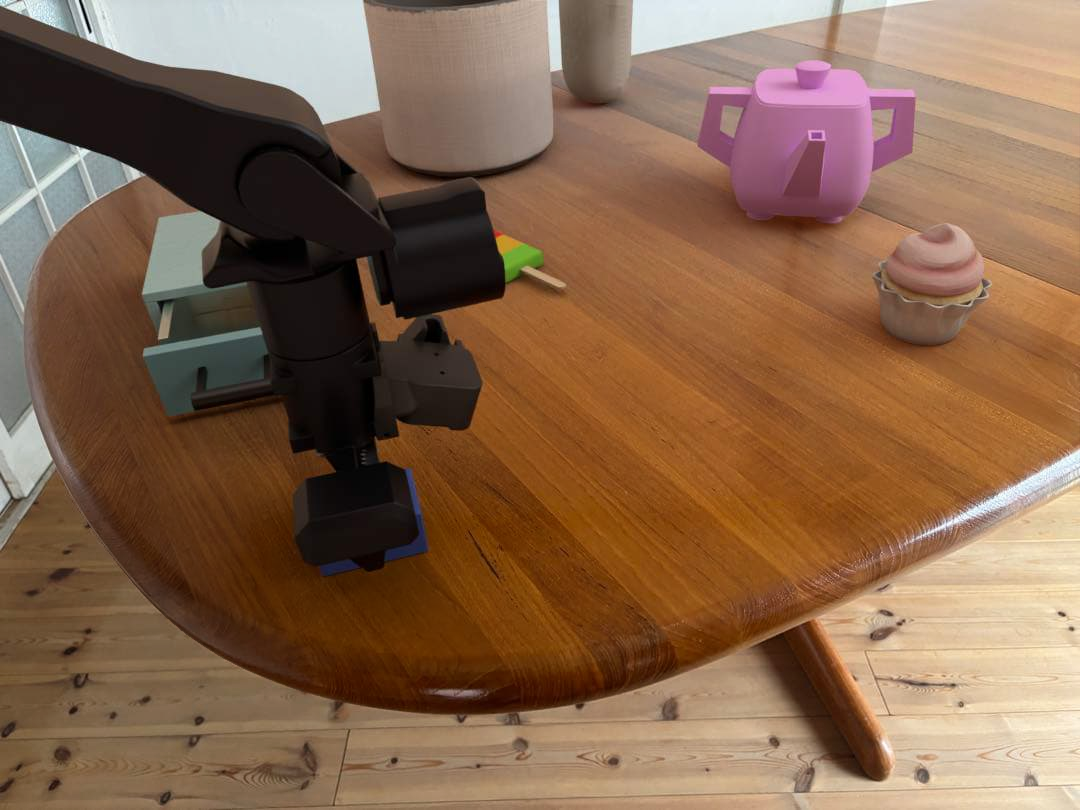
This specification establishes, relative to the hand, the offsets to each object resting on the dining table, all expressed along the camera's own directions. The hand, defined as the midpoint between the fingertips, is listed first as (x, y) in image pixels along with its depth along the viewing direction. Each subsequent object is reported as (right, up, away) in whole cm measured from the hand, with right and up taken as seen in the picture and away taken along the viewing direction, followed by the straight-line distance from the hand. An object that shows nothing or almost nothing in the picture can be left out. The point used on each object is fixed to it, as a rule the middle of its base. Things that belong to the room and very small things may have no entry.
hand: (369, 528), depth 55 cm
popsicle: (+9, +22, +29) cm, 38 cm away
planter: (+2, +43, +57) cm, 71 cm away
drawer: (-14, +11, +16) cm, 24 cm away
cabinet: (-17, +17, +25) cm, 35 cm away
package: (0, -1, +1) cm, 1 cm away
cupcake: (+45, +15, +17) cm, 50 cm away
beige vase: (+20, +54, +70) cm, 91 cm away
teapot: (+40, +31, +39) cm, 64 cm away
